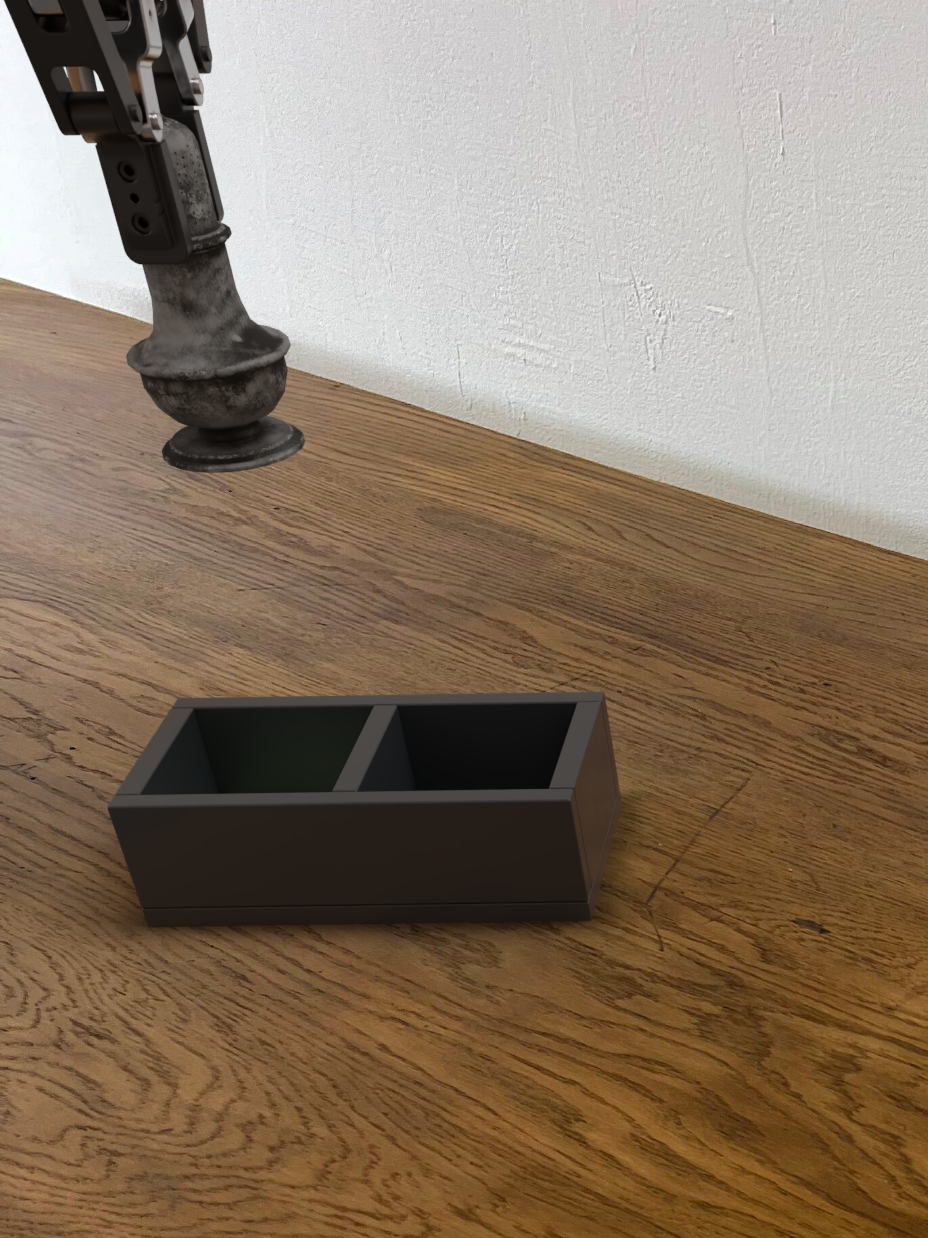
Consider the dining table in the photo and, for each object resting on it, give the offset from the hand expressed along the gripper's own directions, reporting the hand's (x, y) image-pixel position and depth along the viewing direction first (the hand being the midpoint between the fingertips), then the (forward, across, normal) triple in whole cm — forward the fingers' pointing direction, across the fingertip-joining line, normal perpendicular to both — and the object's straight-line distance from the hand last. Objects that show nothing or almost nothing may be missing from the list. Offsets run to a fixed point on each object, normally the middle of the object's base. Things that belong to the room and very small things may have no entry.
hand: (177, 241), depth 74 cm
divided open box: (+23, +4, +4) cm, 24 cm away
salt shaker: (+7, 0, 0) cm, 7 cm away
